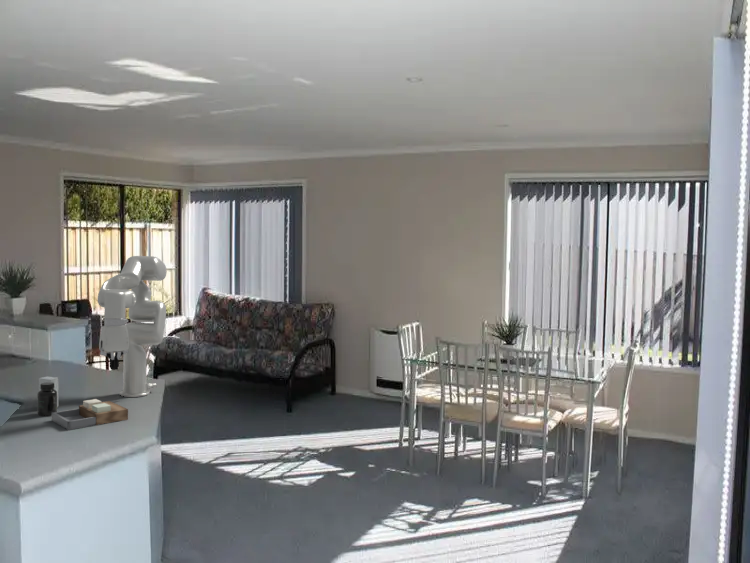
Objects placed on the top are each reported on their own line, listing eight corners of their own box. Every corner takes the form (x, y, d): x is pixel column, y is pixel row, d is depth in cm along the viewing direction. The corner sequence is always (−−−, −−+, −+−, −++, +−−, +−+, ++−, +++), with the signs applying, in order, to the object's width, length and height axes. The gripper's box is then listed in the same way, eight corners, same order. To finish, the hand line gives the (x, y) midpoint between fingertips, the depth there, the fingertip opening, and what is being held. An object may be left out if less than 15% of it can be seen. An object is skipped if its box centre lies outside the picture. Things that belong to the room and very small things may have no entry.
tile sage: (105, 408, 249) (105, 403, 249) (110, 410, 245) (110, 405, 245) (91, 410, 245) (91, 405, 245) (97, 413, 242) (97, 407, 242)
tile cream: (96, 404, 254) (96, 399, 254) (101, 406, 251) (101, 401, 251) (83, 406, 251) (83, 400, 251) (88, 408, 247) (88, 403, 247)
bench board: (109, 410, 260) (109, 400, 260) (127, 419, 249) (128, 409, 249) (78, 415, 251) (78, 405, 251) (96, 425, 240) (96, 414, 240)
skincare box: (58, 406, 264) (58, 377, 263) (50, 409, 260) (51, 379, 259) (46, 405, 265) (46, 376, 265) (38, 407, 261) (38, 378, 260)
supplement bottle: (52, 410, 257) (52, 380, 257) (60, 414, 253) (60, 383, 252) (34, 414, 252) (34, 383, 251) (42, 417, 248) (42, 386, 247)
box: (78, 416, 251) (78, 408, 251) (95, 425, 240) (95, 417, 240) (51, 420, 244) (51, 412, 244) (68, 430, 233) (68, 421, 233)
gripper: (128, 320, 263) (128, 365, 264) (91, 322, 252) (90, 369, 253) (137, 322, 258) (136, 368, 259) (99, 324, 247) (99, 372, 248)
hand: (114, 369), depth 256 cm, fingers closed
